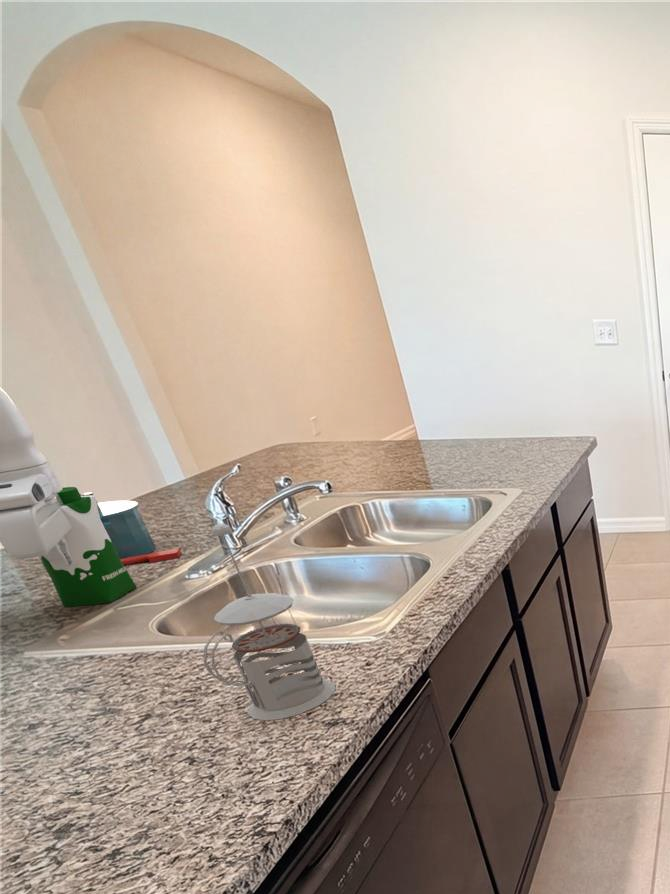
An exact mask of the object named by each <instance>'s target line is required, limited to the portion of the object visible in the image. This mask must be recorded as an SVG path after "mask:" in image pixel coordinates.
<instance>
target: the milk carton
mask: <svg viewBox="0 0 670 894" xmlns="http://www.w3.org/2000/svg"><path fill="white" fill-rule="evenodd" d="M62 488H63V490H62V491H60V492H58V495H59V497H60V499H61V501H62V502H63V504H62V505H60V506H62V507H61V510H62V512H63V513H64V515H65V516H66V517H67V519H68V520H69V522H70V523H71V525H72V528H71V529H70V531H69V532H68V533H67V534H66V535H65V536H64V538H65V540H66V543H67V547H68V551H69V554H70V556H71V558H72V560H73V562H72V563H71V564H70V566H69V567H68V568H66V569H61V570H55V569H53V567H52V565H51V564H50V562H49V561H48V560H47V559H46V558H45V557H44V556H39V557H38V558H39V560H40V561H41V563H42V565H43V567H44V569H45V571H46V572H47V574H48V576H49V578H50V579H51V582H52V584H53V586H54V588H55V590H56V593H57V595H58V597H59V599H60V601H61V604H62V606H63V608H70V607H81V606H82V607H83V606H93V605H103V604H111V603H113V602H115V601H116V600H118V599H119V597H120V598H122V597H123V596H125V595H127V594H128V593H130V592H131V591H134V590H135V589H136V588H138V586H137V585H136V583H135V581H134V580H133V578H132V577H131V575H130V573H129V572H128V570H127V569H126V567H125V565H123V563H122V561H121V559H120V557H119V555H118V554H117V552H116V550H115V548H114V546H113V544H112V542H111V540H110V538H109V536H108V534H107V532H106V530H105V528H104V526H103V524H102V522H101V519H100V516H99V511H98V507H97V503H98V502H97V503H96V501H97V498H96V496H95V495H94V494H93V495H89V496H81V495H80V494H81V493H80V492H79V489H78V488H77V487H76V486H66V487H62ZM129 591H130V592H129ZM124 594H125V595H124Z"/></svg>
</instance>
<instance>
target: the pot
mask: <svg viewBox="0 0 670 894" xmlns="http://www.w3.org/2000/svg"><path fill="white" fill-rule="evenodd" d="M101 522H102V524H103V526H104V528H105V530H106V532H107V534H108V536H109V538H110V540H111V542H112V544H113V546H114V548H115V550H116V552H117V554H118V555H119V557H120V559H123V558H129V557H135V556H141V555H146V554H150V553H153V552H155V550H156V544H155V543H154V540H153V538H152V536H151V535H150V534H151V533H150V531H149V529H148V528H147V526H146V522H145V521H144V519H143V517H142V514H141V512H140V511H139V509H138V508H136V509H134V510H132V511H129V512H126V513H123V514H120V515H116V516H112V517H108V518H103V519H101ZM152 551H153V552H152Z"/></svg>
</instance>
